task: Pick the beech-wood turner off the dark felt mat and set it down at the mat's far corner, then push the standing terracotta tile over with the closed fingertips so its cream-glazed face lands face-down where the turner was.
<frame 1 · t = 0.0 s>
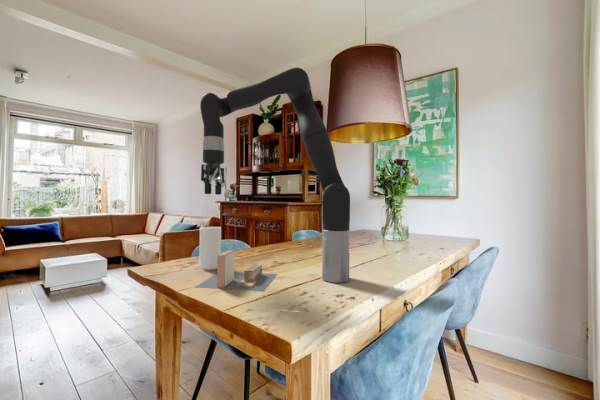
hand: (213, 194, 103), 29 cm above the table, fingers open, 8 cm apart
mat: (239, 280, 94), on the table
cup: (210, 267, 112), on the table
turner: (253, 278, 96), resting on mat
tile: (225, 283, 90), resting on mat
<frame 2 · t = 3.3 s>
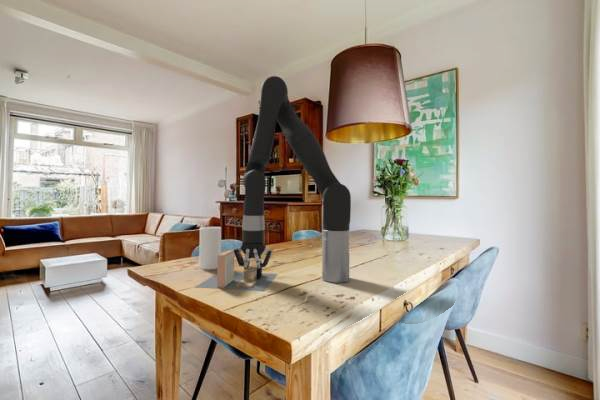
hand: (252, 278, 96), 0 cm above the table, fingers closed on turner, 3 cm apart
turner: (253, 278, 96), resting on mat, touching gripper
everything else where it was.
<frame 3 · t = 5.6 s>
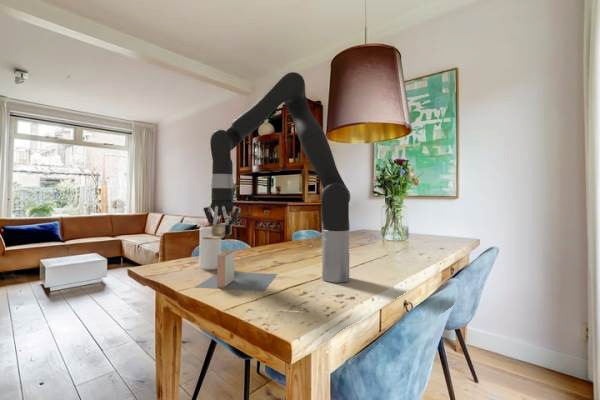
hand: (222, 235, 100), 15 cm above the table, fingers closed on turner, 3 cm apart
turner: (222, 235, 100), point 15 cm above the table, touching gripper
everything else where it was.
when the fingers open (1 cm above the table, at t = 8.2 s): turner stays where it is, resting on mat.
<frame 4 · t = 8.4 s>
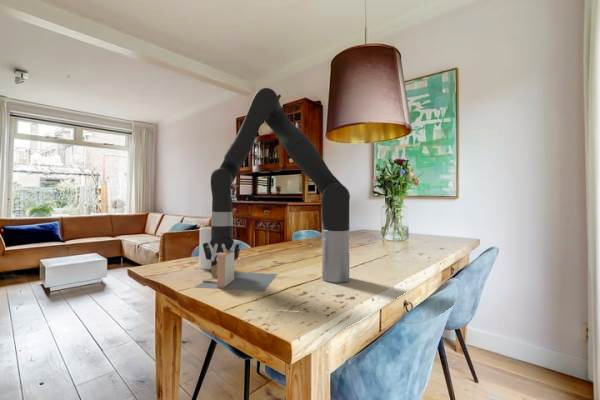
hand: (221, 271, 100), 2 cm above the table, fingers open, 4 cm apart
turner: (222, 274, 100), resting on mat
everything else where it was.
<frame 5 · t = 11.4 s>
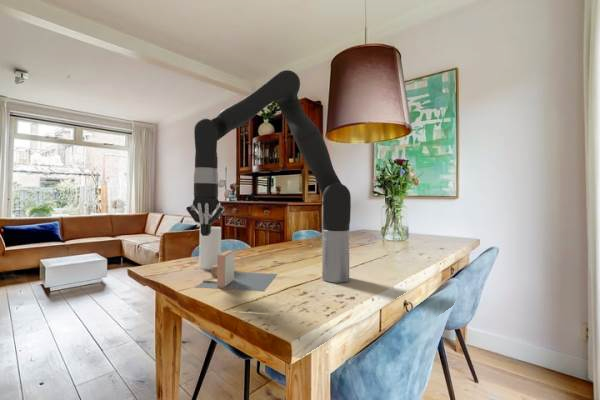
hand: (205, 235, 91), 16 cm above the table, fingers closed
nothing on the table moved.
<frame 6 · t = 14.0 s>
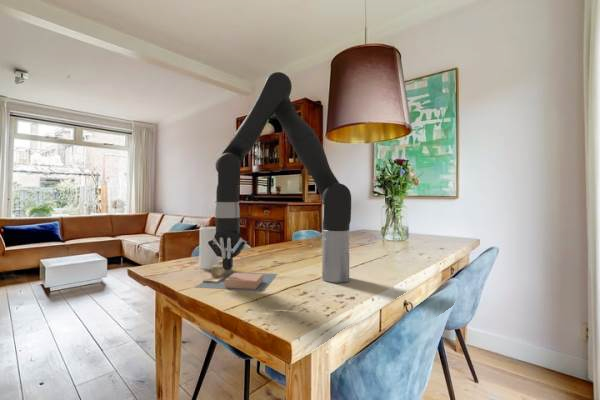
hand: (227, 269, 90), 5 cm above the table, fingers closed
tile: (229, 279, 90), point 2 cm above the table, tilted 90°, touching mat
everything else where it was.
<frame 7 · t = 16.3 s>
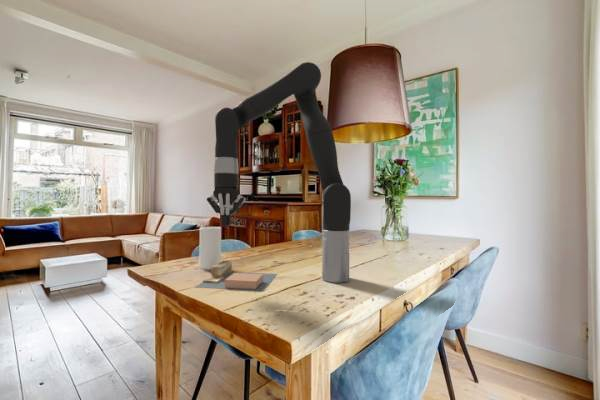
hand: (226, 226, 90), 19 cm above the table, fingers closed
nothing on the table moved.
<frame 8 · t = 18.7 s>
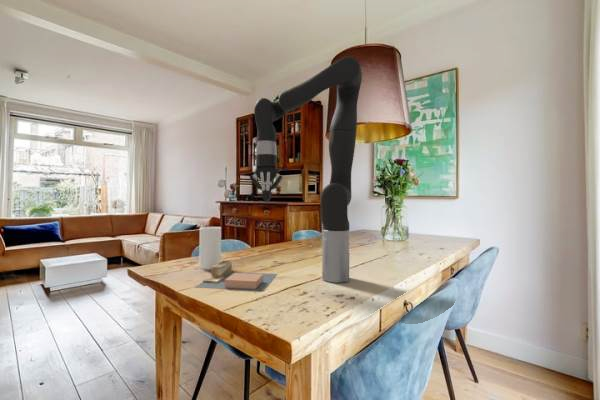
hand: (266, 200, 105), 27 cm above the table, fingers closed
nothing on the table moved.
at the end: tile tilted 90°; tile 4.8 cm from the mat (horizontally); turner inside the target area (0.1 cm from its centre), resting on mat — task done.
